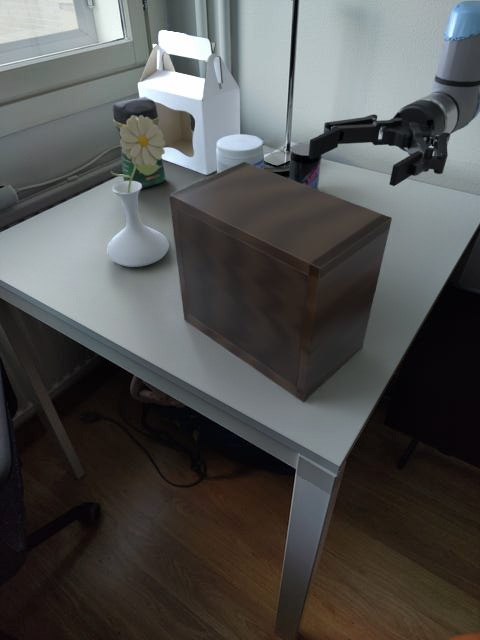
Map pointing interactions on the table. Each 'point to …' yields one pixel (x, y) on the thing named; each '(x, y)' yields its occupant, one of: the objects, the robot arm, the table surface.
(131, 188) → the flower in vase
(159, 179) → the coffee jar
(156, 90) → the gable box
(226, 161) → the supplement tub
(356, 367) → the table surface
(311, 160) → the supplement container
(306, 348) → the wooden storage box
